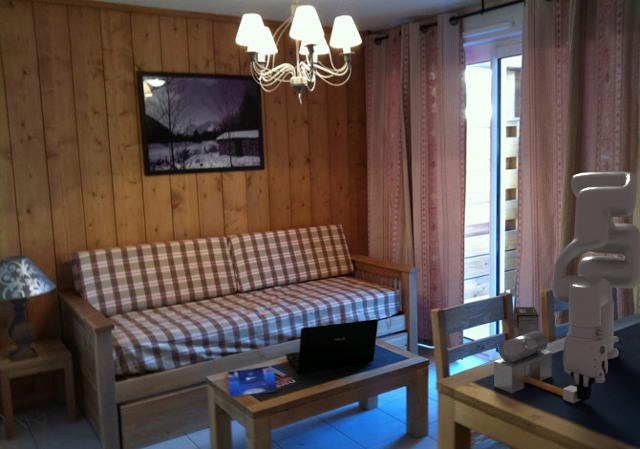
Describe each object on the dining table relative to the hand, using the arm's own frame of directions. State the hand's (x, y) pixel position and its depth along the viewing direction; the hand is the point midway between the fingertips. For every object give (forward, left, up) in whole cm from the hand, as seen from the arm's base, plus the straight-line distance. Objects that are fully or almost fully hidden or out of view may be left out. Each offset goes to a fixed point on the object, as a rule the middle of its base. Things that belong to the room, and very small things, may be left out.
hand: (583, 398), depth 147 cm
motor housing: (0, -19, -1) cm, 19 cm away
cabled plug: (0, -13, -1) cm, 14 cm away
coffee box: (-15, -29, -2) cm, 33 cm away
